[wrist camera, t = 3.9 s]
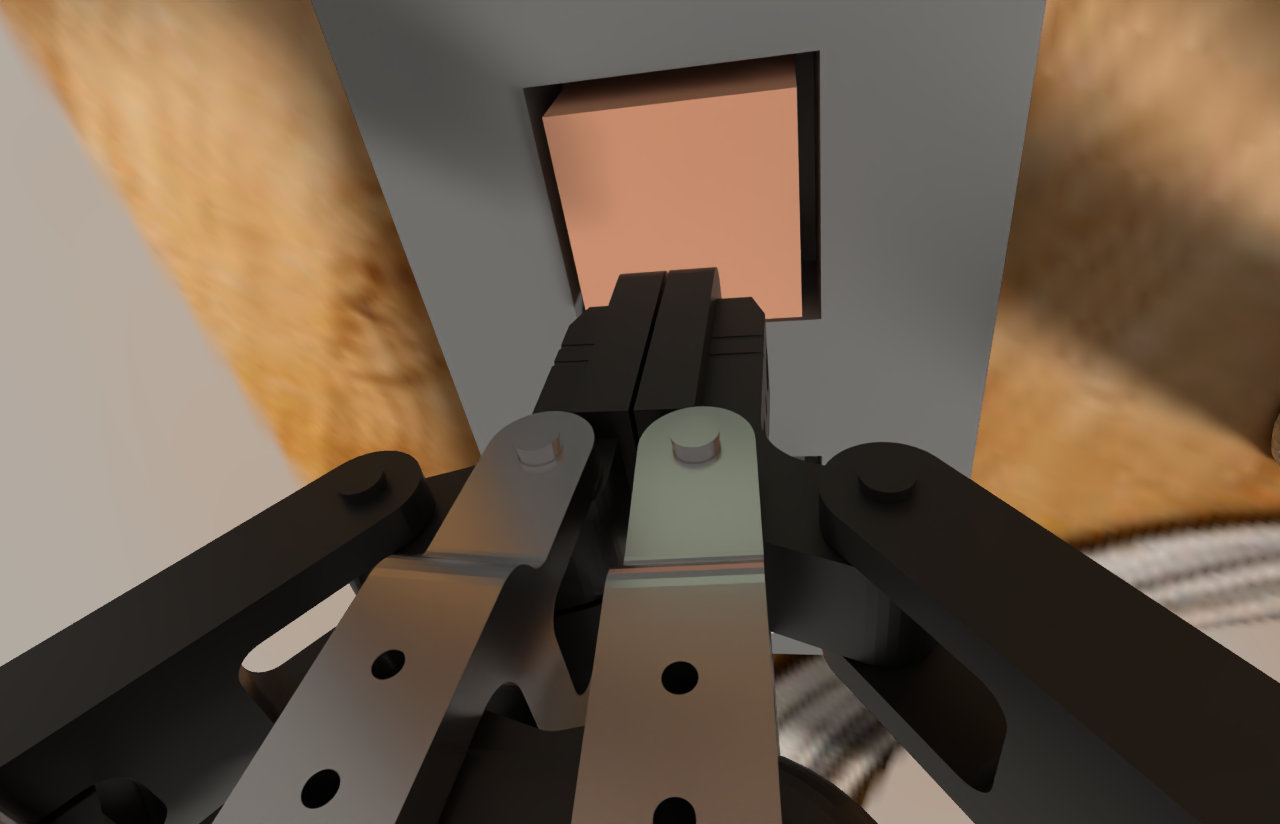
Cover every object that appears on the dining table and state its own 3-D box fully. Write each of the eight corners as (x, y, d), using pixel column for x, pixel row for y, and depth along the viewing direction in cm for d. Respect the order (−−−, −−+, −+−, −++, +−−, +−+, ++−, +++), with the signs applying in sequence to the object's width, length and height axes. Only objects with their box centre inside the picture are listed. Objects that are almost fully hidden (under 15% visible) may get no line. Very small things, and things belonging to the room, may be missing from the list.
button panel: (1178, -1478, 7) (1383, -2131, 5) (925, 577, 24) (941, 658, 22) (87, -955, 9) (-140, -1207, 7) (571, 574, 27) (552, 647, 24)
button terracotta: (793, 45, 14) (796, 87, 12) (798, 252, 17) (802, 316, 15) (574, 74, 15) (542, 117, 13) (611, 267, 18) (590, 328, 16)
